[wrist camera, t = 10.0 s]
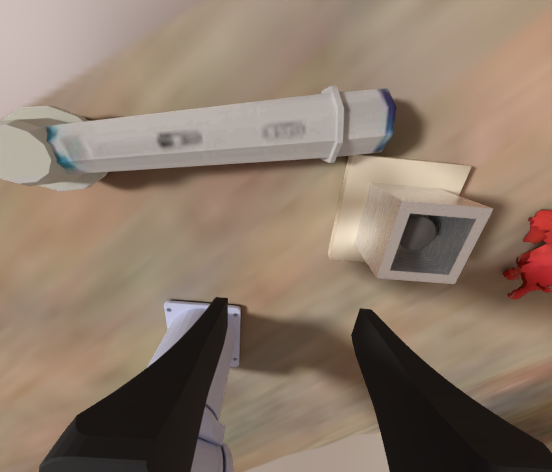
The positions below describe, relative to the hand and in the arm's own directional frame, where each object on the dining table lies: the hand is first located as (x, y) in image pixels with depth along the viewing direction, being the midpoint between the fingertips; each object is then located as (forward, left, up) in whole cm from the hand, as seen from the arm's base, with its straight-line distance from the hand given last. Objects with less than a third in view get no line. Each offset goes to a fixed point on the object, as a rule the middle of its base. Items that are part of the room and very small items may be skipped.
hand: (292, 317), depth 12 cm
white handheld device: (+8, +7, -10) cm, 15 cm away
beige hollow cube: (+3, -9, -8) cm, 12 cm away
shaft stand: (+3, -9, -9) cm, 13 cm away
